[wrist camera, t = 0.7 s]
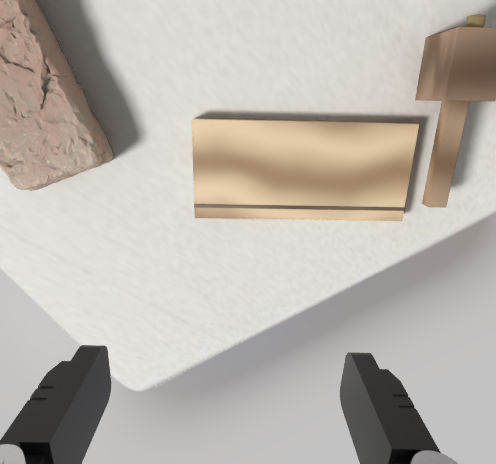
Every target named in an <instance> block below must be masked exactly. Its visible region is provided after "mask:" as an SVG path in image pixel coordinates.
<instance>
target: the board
mask: <svg viewBox="0 0 496 464" xmlns="http://www.w3.org/2000/svg"><path fill="white" fill-rule="evenodd" d="M418 128H419V124H414V123H380V122H334V121H288V120H241V119H195V118H194V119H192V139H193V172H194V208H195V218H230V219H299V220H368V221H402V219H403V213H404V210H405V202H406V196H407V191H408V185H409V179H410V174H411V168H412V162H413V157H414V151H415V145H416V140H417V134H418Z"/></svg>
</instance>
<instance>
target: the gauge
mask: <svg viewBox="0 0 496 464" xmlns="http://www.w3.org/2000/svg"><path fill="white" fill-rule="evenodd" d="M485 17H486V15H471V16H468V17H467V22H466V27H457V28H454V29H451V30H448V31H445V32H442V33H439V34H436V35H433V36H430V37H427V38H426V40H425V46H424V52H423V58H422V64H421V70H420V75H419V81H418V87H417V93H416V99H415V100H434V101H442V104H441V109H440V114H439V119H438V125H437V130H436V135H435V140H434V145H433V150H432V156H431V161H430V166H429V171H428V176H427V181H426V186H425V192H424V197H423V202H422V204H424V205H426V206H427V207H446V206H447V201H448V196H449V192H450V187H451V183H452V178H453V173H454V169H455V164H456V160H457V155H458V150H459V146H460V141H461V137H462V132H463V128H464V123H465V118H466V114H467V109H468V105H469V101H495V100H496V28H483V26H484V22H485Z"/></svg>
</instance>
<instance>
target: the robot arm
mask: <svg viewBox="0 0 496 464" xmlns="http://www.w3.org/2000/svg"><path fill="white" fill-rule="evenodd" d="M110 392H111V377H110V368H109V359H108V350H107V347H106V346H93V345H82V346H80V348H79V349H78V350H77V352H76V353H75V355H74V357H73V358H72V360H71V361H62V362H60V363H59V364H58V365H57V366H55V367H54V368H53V369H52V370H50V371H49V372H48V373H47V374H46V376H45V377H44V379H43V380H42V381H41V383H40V384H39V386H38V389H36V390H35V391H34V393H33V394H32V396H31V397H30V400H29V401H27V403H26V404H25V406H24V407H23V409H22V410H21V411H20V413H19V414H18V416H17V417H16V419H15V420H14V422H13V423H12V424H11V426H10V427H9V429H8V430H7V432H6V433H5V434H4V436H3V437H2V439H1V440H0V464H82V461H83V459H84V457H85V454H86V452H87V449H88V447H89V445H90V443H91V440H92V438H93V436H94V433H95V431H96V429H97V426H98V424H99V422H100V419H101V417H102V415H103V413H104V410H105V408H106V406H107V403H108V400H109V397H110ZM340 400H341V406H342V409H343V413H344V416H345V419H346V422H347V425H348V428H349V431H350V434H351V437H352V440H353V443H354V446H355V449H356V452H357V455H358V458H359V462H360V464H457V463H456V462H455V461H454V460H452V459H451V458H449V457H448V456H446V455H444V454H441V453H440V451H439V449H438V447H437V445H436V444H435V442H434V440H433V438H432V437H431V435H430V433H429V431H428V429H427V428H426V426H425V424H424V422H423V421H422V419H421V417H420V415H419V413H418V412H417V410H416V409H415V408H414V405H413V403H412V401H411V399H410V398H409V397H408V394H407V392H406V390H405V389H404V387H403V385H402V383H401V381H400V380H398V379H397V378H396V377H395V376H394V375H393V374H392V373H391V372H390V371H389V370H386V369H385V370H383V369H379V367H378V365H377V363H376V361H375V359H374V358H373V356H372V354H371V353H347V355H346V358H345V364H344V370H343V375H342V381H341V387H340Z"/></svg>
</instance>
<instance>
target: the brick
mask: <svg viewBox="0 0 496 464" xmlns="http://www.w3.org/2000/svg"><path fill="white" fill-rule="evenodd" d="M112 159H113V153H112V148H111V146H110V144H109V142H108V139H107V136H106V135H105V133H104V131H103V129H102V128H101V126H100V124H99V122H98V121H97V119H96V118H95V117H94V116H93V115H92V113H91V110H90V107H89V104H88V101H87V99H86V96H85V94H84V92H83V91H82V89H81V88H80V86H79V85H78V83H77V82H76V79H75V76H74V73H73V70H72V69H71V67H70V65H69V64H68V61H67V59H66V57H65V55H64V53H63V52H62V51H61V49H60V45H59V43H58V41H57V39H56V37H55V35H54V33H53V31H52V30H51V29H50V26H49V24H48V22H47V20H46V18H45V16H44V14H43V12H42V10H41V8H40V6H39V5H38V3H37V1H36V0H0V167H1V169H2V170H3V171H4V172H5V173H6V174H7V175H8V177H9V179H10V181H11V183H12V184H13V185H14V186H15V187H16V188H17V189H20V190H30V191H32V190H38V189H40V188H43V187H46V186H48V185H50V184H52V183H56V182H59V181H60V180H62V179H66V178H69V177H72V176H74V175H76V174H78V173H80V172H83V171H86V170H89V169H92V168H95V167H99V166H101V165H103V164H105V163H107V162H109V161H111V160H112Z"/></svg>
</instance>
